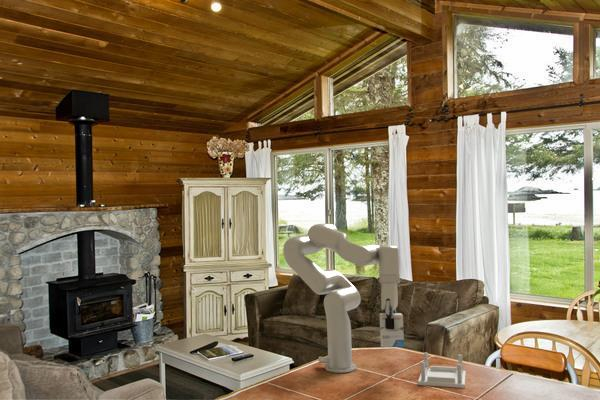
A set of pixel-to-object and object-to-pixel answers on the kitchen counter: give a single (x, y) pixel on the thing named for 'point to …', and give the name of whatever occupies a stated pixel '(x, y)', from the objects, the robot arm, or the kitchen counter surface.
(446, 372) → the tray
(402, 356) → the kitchen counter surface
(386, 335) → the ink box
